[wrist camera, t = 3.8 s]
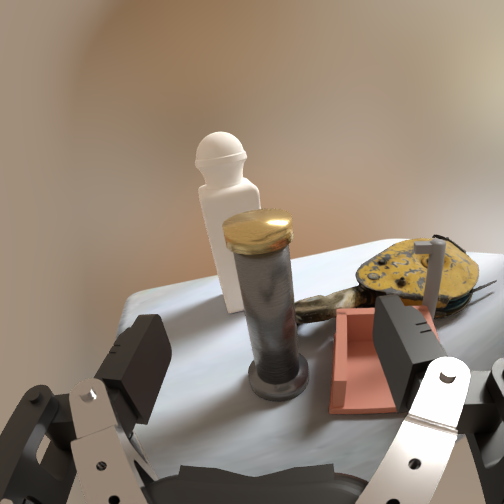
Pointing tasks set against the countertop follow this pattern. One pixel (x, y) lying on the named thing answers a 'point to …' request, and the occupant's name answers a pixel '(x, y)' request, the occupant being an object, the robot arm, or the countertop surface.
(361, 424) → the countertop surface
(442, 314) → the pulley block
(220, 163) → the white square bottle
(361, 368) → the keeper bracket
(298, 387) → the tie-down post
